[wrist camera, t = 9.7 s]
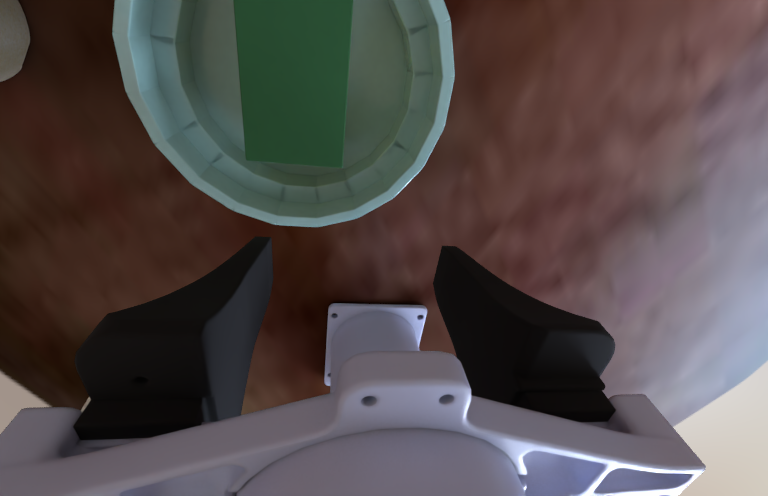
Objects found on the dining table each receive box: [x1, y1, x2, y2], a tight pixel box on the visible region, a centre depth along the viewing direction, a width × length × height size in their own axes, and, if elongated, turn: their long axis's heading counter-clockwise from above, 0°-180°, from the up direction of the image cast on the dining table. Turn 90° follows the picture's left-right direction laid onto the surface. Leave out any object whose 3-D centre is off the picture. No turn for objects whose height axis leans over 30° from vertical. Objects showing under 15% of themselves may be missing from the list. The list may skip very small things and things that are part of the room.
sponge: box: [233, 0, 353, 168], centre depth 17 cm, size 7×4×4 cm, turn 173°
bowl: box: [112, 0, 455, 227], centre depth 17 cm, size 14×14×4 cm
